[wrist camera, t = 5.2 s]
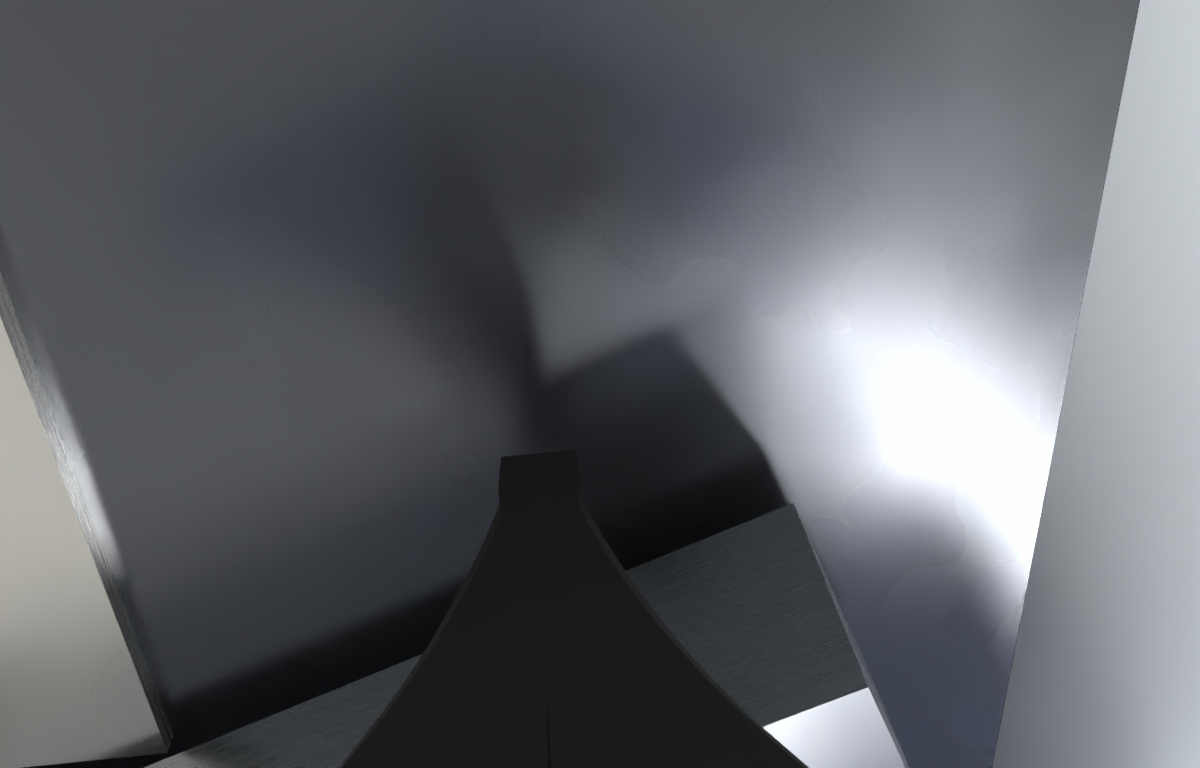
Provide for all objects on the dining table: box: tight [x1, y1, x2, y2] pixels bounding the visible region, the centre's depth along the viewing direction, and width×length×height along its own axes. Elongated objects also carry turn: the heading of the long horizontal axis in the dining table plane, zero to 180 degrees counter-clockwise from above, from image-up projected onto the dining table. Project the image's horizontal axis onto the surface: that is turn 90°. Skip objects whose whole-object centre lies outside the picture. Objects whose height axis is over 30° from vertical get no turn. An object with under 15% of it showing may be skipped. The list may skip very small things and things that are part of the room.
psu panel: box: [0, 0, 1140, 768], centre depth 13 cm, size 17×20×1 cm
